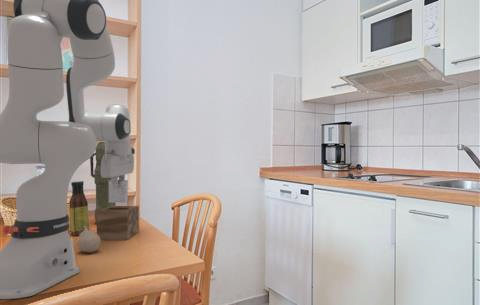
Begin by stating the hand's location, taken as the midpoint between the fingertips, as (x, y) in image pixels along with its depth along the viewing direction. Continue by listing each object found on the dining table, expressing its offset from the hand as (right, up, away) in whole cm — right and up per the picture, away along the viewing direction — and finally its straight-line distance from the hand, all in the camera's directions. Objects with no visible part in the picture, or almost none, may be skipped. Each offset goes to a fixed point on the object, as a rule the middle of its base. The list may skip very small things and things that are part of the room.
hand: (118, 187), depth 120 cm
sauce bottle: (-16, -18, +3) cm, 24 cm away
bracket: (0, -5, 0) cm, 5 cm away
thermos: (-14, -18, +22) cm, 31 cm away
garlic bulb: (-2, -18, -19) cm, 26 cm away
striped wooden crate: (0, -18, 0) cm, 18 cm away
